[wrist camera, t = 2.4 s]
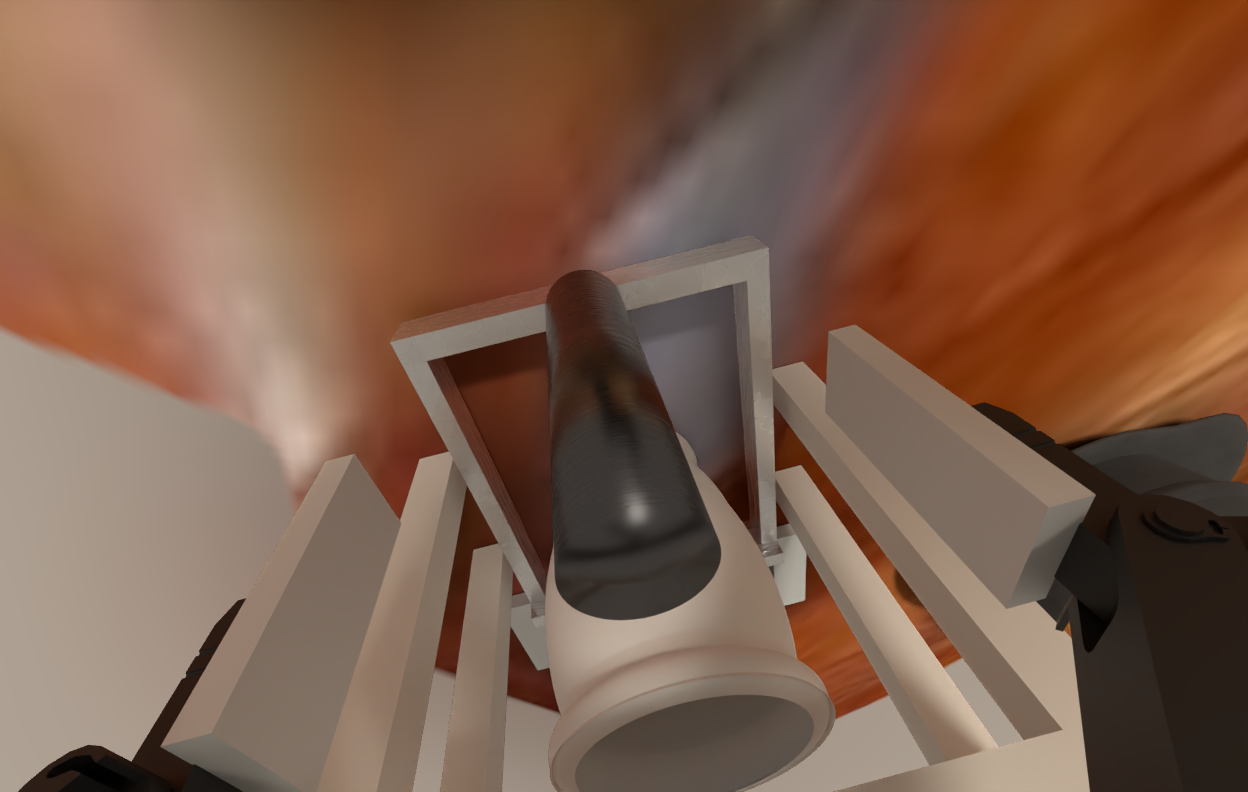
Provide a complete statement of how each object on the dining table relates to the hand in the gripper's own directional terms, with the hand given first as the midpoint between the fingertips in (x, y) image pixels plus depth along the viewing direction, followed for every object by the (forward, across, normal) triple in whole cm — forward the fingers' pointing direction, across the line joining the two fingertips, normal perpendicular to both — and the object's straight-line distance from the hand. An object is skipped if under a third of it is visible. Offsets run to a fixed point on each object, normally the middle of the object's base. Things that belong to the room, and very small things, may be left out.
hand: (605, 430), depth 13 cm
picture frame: (+10, 0, -8) cm, 13 cm away
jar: (+12, 0, -12) cm, 17 cm away
